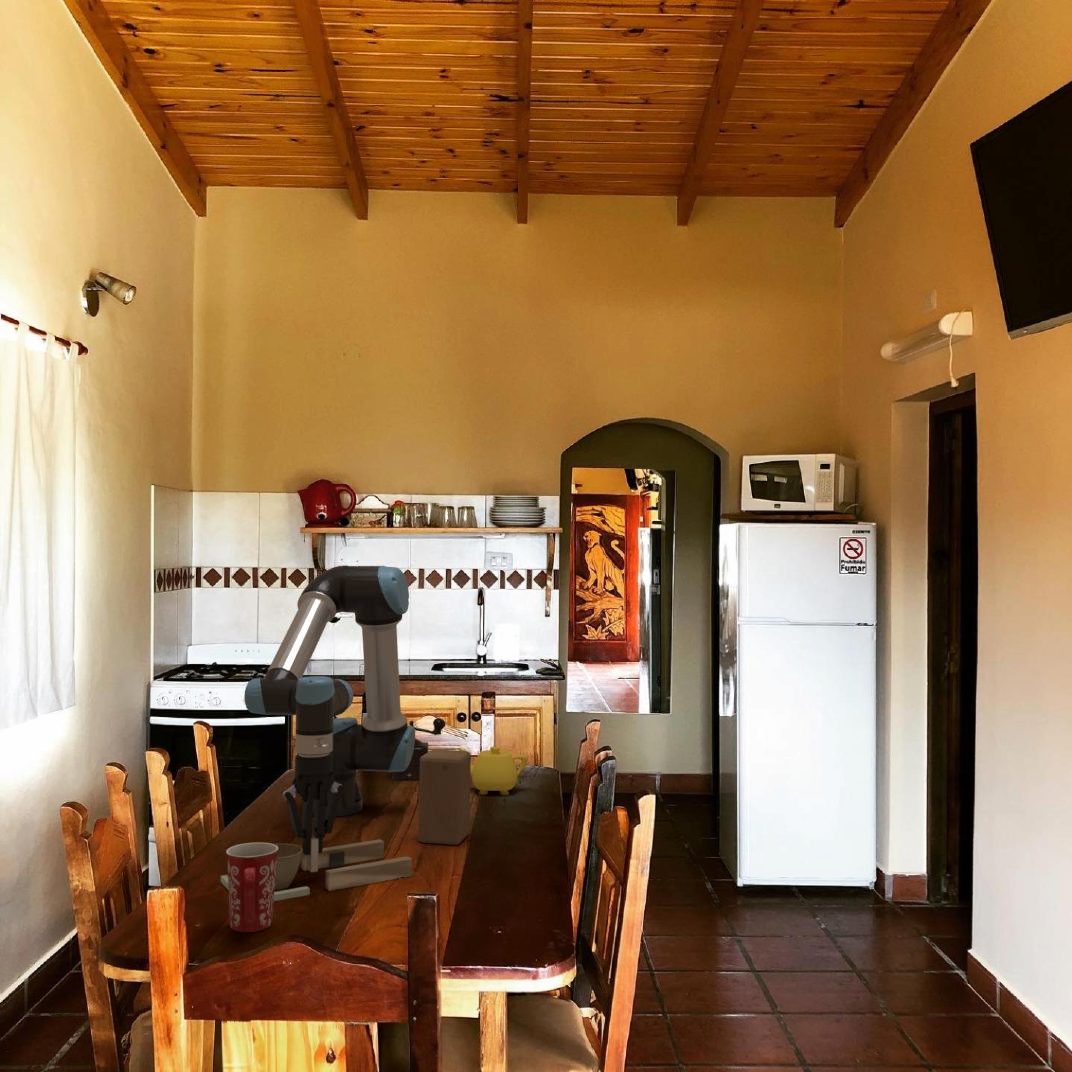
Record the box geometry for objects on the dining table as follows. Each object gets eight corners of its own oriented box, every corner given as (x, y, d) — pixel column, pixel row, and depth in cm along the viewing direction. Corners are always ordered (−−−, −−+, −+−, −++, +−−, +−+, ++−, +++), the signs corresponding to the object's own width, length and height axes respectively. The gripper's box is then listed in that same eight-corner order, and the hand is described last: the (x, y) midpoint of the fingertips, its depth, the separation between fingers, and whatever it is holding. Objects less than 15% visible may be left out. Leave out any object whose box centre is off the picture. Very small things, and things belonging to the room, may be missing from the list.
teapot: (458, 784, 282) (459, 741, 283) (527, 786, 282) (528, 743, 282) (454, 796, 269) (454, 751, 269) (526, 797, 269) (527, 752, 269)
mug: (227, 916, 178) (229, 842, 179) (278, 914, 180) (280, 840, 180) (218, 944, 166) (219, 864, 166) (273, 941, 168) (274, 862, 168)
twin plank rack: (301, 868, 206) (301, 851, 206) (380, 855, 216) (380, 839, 216) (329, 891, 193) (329, 873, 193) (411, 875, 202) (412, 858, 202)
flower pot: (311, 882, 198) (312, 846, 198) (282, 898, 188) (283, 860, 188) (270, 875, 201) (271, 840, 201) (239, 890, 192) (240, 854, 192)
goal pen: (220, 881, 197) (220, 875, 197) (282, 871, 204) (282, 865, 204) (244, 906, 183) (244, 900, 183) (309, 894, 190) (309, 888, 190)
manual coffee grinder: (391, 780, 286) (392, 719, 286) (393, 772, 297) (394, 713, 297) (444, 780, 287) (445, 719, 287) (445, 772, 298) (446, 713, 298)
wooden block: (458, 846, 223) (460, 758, 223) (416, 843, 225) (418, 756, 225) (470, 834, 233) (471, 750, 233) (430, 831, 235) (431, 747, 235)
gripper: (289, 760, 193) (287, 880, 192) (351, 753, 200) (349, 869, 199) (276, 753, 199) (274, 870, 198) (337, 747, 206) (335, 859, 205)
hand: (312, 869), depth 199 cm, fingers closed
